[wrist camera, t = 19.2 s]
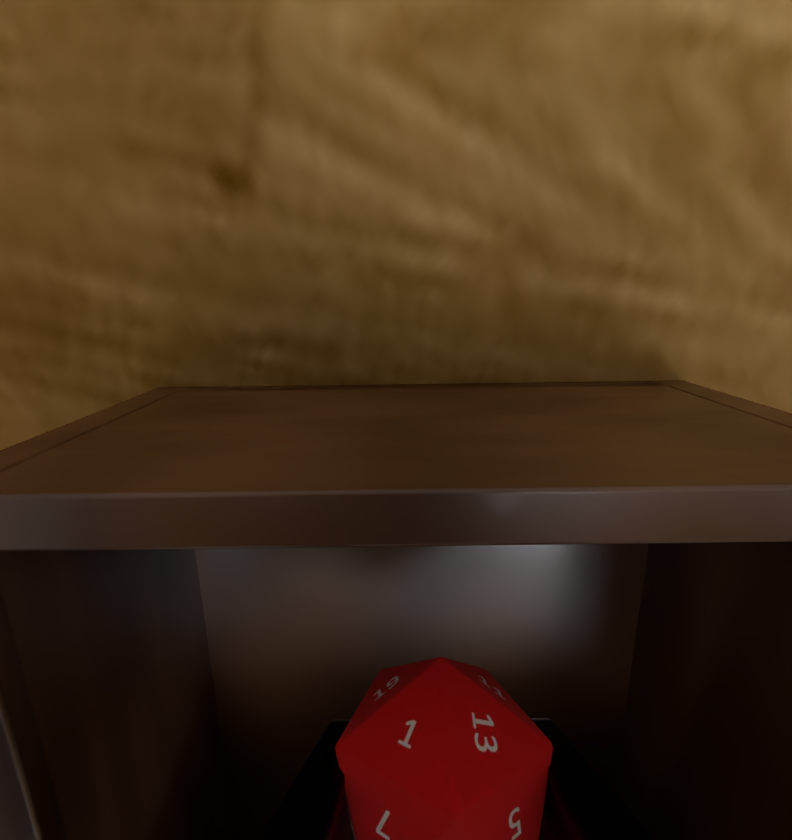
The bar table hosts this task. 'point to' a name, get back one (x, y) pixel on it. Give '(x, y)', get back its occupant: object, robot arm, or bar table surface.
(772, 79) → the bar table surface
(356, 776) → the die
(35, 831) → the display box
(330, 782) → the robot arm
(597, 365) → the bar table surface
